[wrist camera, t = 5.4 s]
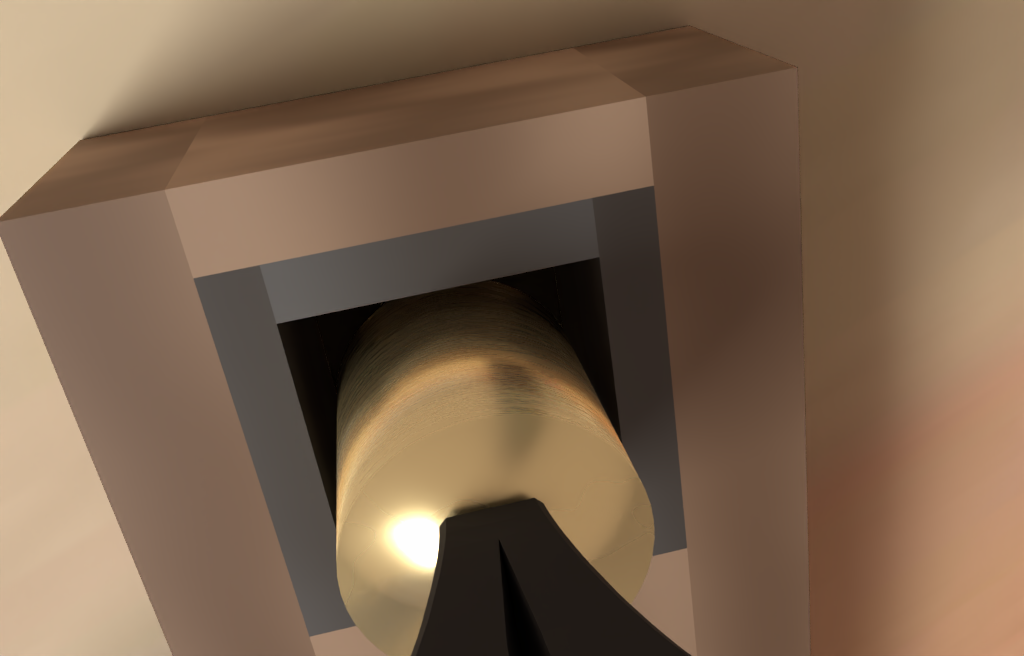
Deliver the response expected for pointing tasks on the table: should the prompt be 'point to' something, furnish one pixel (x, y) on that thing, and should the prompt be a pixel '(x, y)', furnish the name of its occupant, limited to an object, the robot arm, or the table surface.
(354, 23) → the table surface
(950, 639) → the table surface
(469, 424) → the brass peg
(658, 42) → the peg board
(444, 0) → the table surface
